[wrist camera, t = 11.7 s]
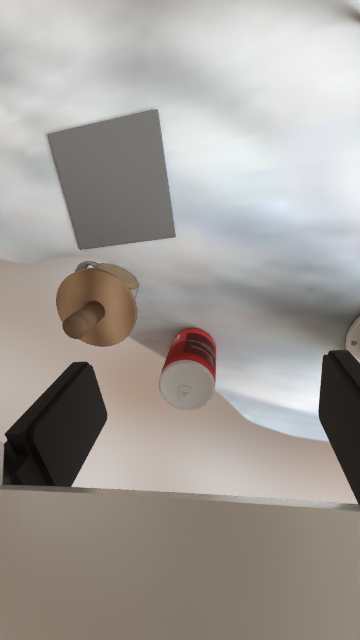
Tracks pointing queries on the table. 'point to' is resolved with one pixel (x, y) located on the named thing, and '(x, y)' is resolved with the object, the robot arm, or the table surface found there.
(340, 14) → the table surface
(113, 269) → the ceramic mug
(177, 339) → the canned food
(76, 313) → the lid
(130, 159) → the mat
